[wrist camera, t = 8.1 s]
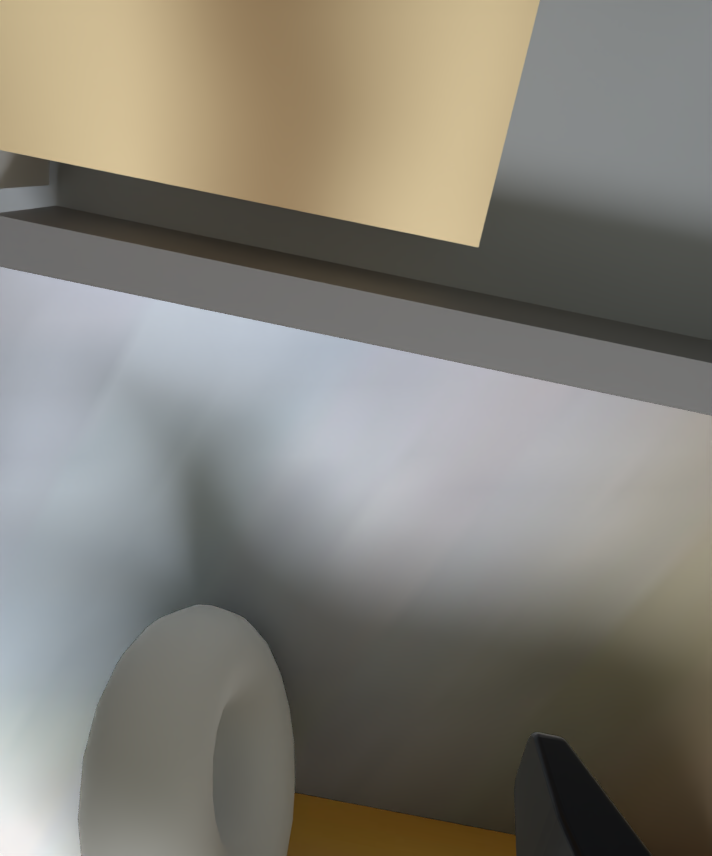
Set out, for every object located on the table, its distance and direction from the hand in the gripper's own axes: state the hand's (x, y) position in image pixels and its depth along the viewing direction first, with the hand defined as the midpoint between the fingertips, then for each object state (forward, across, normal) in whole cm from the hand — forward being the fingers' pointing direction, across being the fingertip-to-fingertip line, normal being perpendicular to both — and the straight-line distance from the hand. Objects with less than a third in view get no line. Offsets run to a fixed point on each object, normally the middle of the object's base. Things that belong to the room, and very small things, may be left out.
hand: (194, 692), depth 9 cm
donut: (+13, +2, +11) cm, 17 cm away
